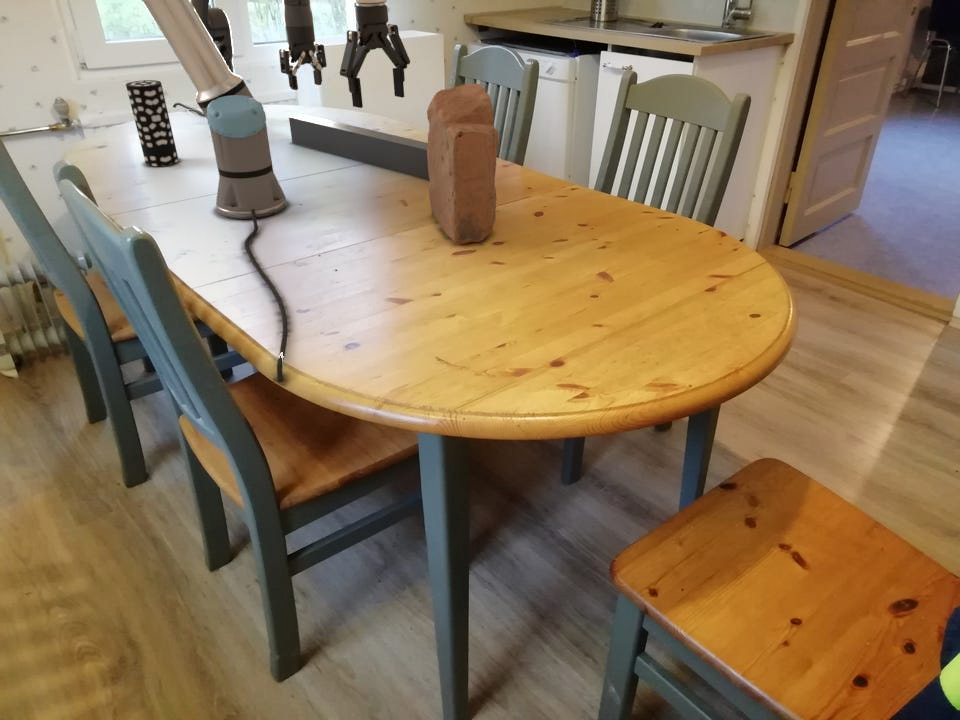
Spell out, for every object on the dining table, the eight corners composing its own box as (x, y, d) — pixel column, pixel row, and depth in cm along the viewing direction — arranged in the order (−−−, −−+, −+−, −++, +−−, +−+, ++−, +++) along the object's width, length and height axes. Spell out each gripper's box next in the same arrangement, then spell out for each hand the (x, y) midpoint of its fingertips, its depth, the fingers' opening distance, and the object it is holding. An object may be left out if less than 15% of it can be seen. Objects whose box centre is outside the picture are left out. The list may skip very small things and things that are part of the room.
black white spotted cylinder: (184, 157, 190) (167, 80, 179) (169, 166, 183) (151, 87, 172) (155, 156, 190) (136, 79, 179) (139, 165, 183) (119, 86, 172)
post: (487, 186, 172) (488, 156, 168) (475, 192, 169) (476, 161, 165) (305, 139, 207) (302, 113, 203) (292, 143, 203) (288, 117, 199)
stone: (507, 241, 142) (509, 97, 128) (455, 247, 139) (451, 101, 125) (475, 209, 160) (474, 80, 146) (428, 214, 157) (422, 83, 143)
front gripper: (399, -2, 166) (405, 90, 178) (316, 8, 151) (329, 109, 162) (421, 0, 162) (426, 94, 174) (338, 10, 146) (349, 113, 158)
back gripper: (310, 19, 191) (316, 81, 200) (268, 24, 181) (277, 89, 190) (328, 22, 187) (334, 85, 196) (287, 27, 178) (295, 93, 186)
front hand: (379, 101), depth 168 cm, fingers open, 13 cm apart
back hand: (306, 87), depth 193 cm, fingers open, 8 cm apart
